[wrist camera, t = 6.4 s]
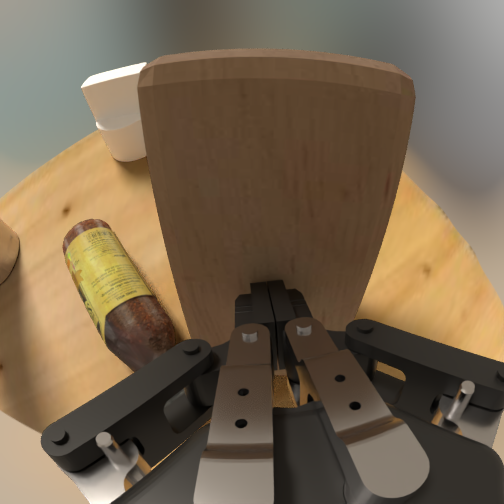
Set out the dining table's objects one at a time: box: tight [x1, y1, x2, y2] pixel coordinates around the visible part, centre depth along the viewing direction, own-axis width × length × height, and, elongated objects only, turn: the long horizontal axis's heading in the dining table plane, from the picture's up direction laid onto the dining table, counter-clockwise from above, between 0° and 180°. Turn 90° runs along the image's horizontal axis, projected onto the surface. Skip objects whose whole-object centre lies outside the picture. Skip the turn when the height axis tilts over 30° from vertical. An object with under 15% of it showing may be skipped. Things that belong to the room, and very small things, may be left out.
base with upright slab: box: [81, 63, 147, 162], centre depth 33 cm, size 9×9×12 cm
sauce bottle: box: [63, 219, 185, 408], centre depth 23 cm, size 6×6×20 cm
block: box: [137, 49, 416, 375], centre depth 17 cm, size 10×10×20 cm
